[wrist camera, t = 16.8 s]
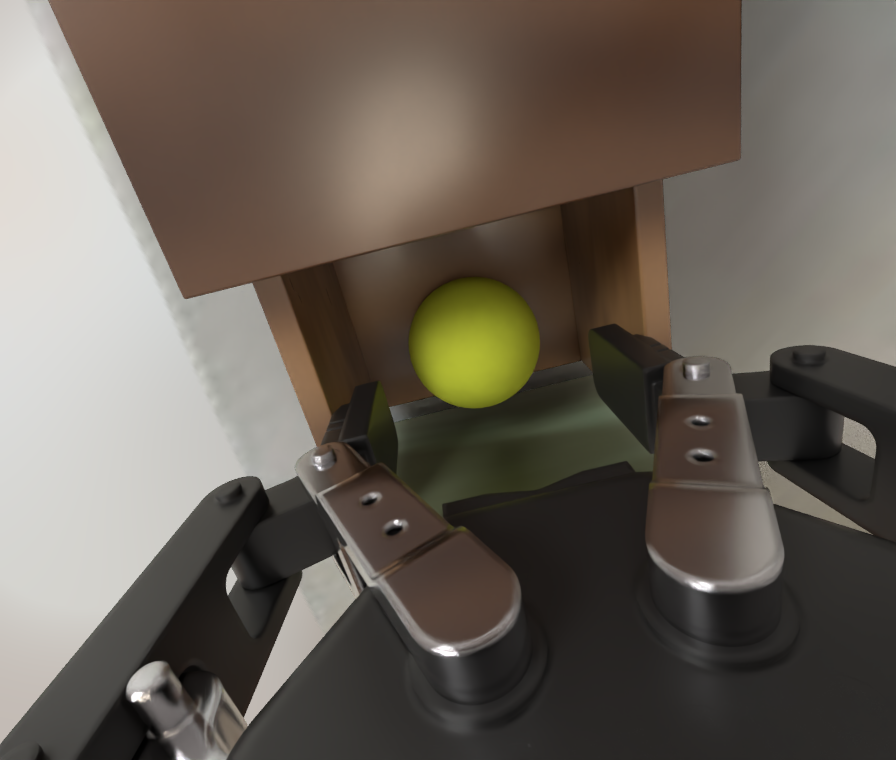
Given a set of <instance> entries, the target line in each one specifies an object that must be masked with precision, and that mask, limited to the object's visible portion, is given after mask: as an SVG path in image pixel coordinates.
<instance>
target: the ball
mask: <svg viewBox="0 0 896 760" xmlns="http://www.w3.org/2000/svg"><path fill="white" fill-rule="evenodd" d="M408 343H409V354H410V359H411V362H412V365H413V368H414V370H415V372H416V374H417V376H418V378H419V379H420V380H421V382H422V383H423V385H424V386H425V387H426V388H427V389H428V390H429V391H430V392H431V393H432V394H434V395H435V396H436V397H438V398H440V399H441V400H443V401H445V402H447V403H449V404H452V405H455V406H458V407H463V408H484V407H489V406H493V405H496V404H499V403H501V402H503V401H505V400H507V399H508V398H510V397H512V396H513V395H514V394H516V393H517V392H518V391H519V390H520V389H521V388H522V387H523V386H524V385H525V383H526V382H527V381H528V379H529V378H530V376H531V375H532V373H533V371H534V369H535V366H536V363H537V360H538V356H539V350H540V336H539V329H538V325H537V321H536V319H535V316H534V314H533V312H532V310H531V309H530V307H529V305H528V304H527V303H526V301H525V300H524V299H523V298H522V297H521V296H520V295H519V294H518V293H517V292H516V291H514V290H513V289H512V288H510V287H509V286H507V285H505V284H503V283H501V282H499V281H496V280H494V279H489V278H485V277H465V278H460V279H456V280H453V281H450V282H448V283H446V284H444V285H442V286H440V287H439V288H437V289H436V290H434V291H433V292H432V293H431V294H430V295H428V297H427V298H426V299H425V300H424V301H423V302H422V304H421V305H420V306H419V308H418V310H417V312H416V313H415V315H414V318H413V321H412V323H411V327H410V332H409V341H408Z"/></svg>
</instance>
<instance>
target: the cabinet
mask: <svg viewBox="0 0 896 760" xmlns="http://www.w3.org/2000/svg"><path fill="white" fill-rule="evenodd" d="M48 1H49V3H50V5H51V8H52V10H53V12H54V14H55V16H56V19H57V21H58V23H59V25H60V27H61V30H62V32H63V34H64V36H65V38H66V41H67V43H68V45H69V47H70V49H71V52H72V54H73V56H74V58H75V60H76V63H77V65H78V67H79V69H80V71H81V74H82V76H83V78H84V80H85V82H86V85H87V87H88V89H89V91H90V93H91V95H92V98H93V100H94V102H95V104H96V106H97V109H98V111H99V113H100V115H101V117H102V120H103V122H104V124H105V126H106V128H107V131H108V133H109V135H110V137H111V139H112V142H113V144H114V146H115V148H116V150H117V153H118V155H119V157H120V159H121V161H122V164H123V166H124V168H125V170H126V172H127V175H128V177H129V179H130V181H131V183H132V186H133V188H134V190H135V192H136V194H137V197H138V199H139V201H140V203H141V205H142V208H143V210H144V212H145V214H146V216H147V218H148V221H149V223H150V225H151V227H152V229H153V232H154V234H155V236H156V238H157V240H158V243H159V245H160V247H161V249H162V251H163V254H164V256H165V258H166V260H167V262H168V265H169V267H170V269H171V271H172V273H173V276H174V278H175V280H176V282H177V284H178V287H179V289H180V291H181V293H182V295H183V297H184V299H189V298H193V297H197V296H201V295H205V294H209V293H213V292H217V291H221V290H224V289H228V288H232V287H236V286H240V285H244V284H248V283H252V282H256V281H260V280H264V279H268V278H272V277H276V276H280V275H284V274H288V273H292V272H296V271H300V270H304V269H308V268H312V267H316V266H320V265H324V264H328V263H332V262H336V261H340V260H344V259H348V258H352V257H356V256H360V255H364V254H368V253H372V252H376V251H380V250H384V249H388V248H392V247H396V246H400V245H404V244H408V243H412V242H416V241H420V240H423V239H427V238H431V237H435V236H439V235H443V234H447V233H451V232H455V231H459V230H463V229H467V228H471V227H475V226H479V225H483V224H487V223H491V222H495V221H499V220H503V219H507V218H511V217H515V216H519V215H523V214H527V213H531V212H535V211H539V210H543V209H547V208H551V207H555V206H559V205H563V204H567V203H571V202H575V201H579V200H583V199H587V198H591V197H595V196H599V195H603V194H607V193H611V192H615V191H619V190H622V189H626V188H630V187H634V186H638V185H642V184H646V183H650V182H654V181H658V180H662V179H666V178H670V177H674V176H678V175H682V174H686V173H690V172H694V171H698V170H702V169H706V168H710V167H714V166H718V165H722V164H726V163H730V162H734V161H738V160H739V159H740V158H741V0H48Z"/></svg>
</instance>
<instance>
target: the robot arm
mask: <svg viewBox="0 0 896 760" xmlns="http://www.w3.org/2000/svg"><path fill="white" fill-rule="evenodd" d="M588 340H589V348H590V356H591V364H592V372H593V380H594V384H595V388H596V391H597V393H598V395H599V397H600V398H601V399H602V401H603V402H604V403H605V404H606V405H607V406H608V407H609V408H610V410H611V411H612V412H613V413H614V414H615V415H616V416H617V417H618V419H619V420H620V421H621V422H622V423H623V424H624V425H625V426H626V428H627V429H628V430H629V431H630V432H631V433H632V434H633V435H634V436H635V438H636V439H637V440H638V441H639V442H640V443H641V444H642V445H643V447H644V448H645V449H646V450H647V451H648V452H649V453H650V454H653V453H654V462H653V472H635V470H634V469H633V468H632V466H631V465H630V464H629V463H628V461H623V462H619V463H614V464H610V465H606V466H602V467H597V468H593V469H589V470H585V471H581V472H578V473H576V474H574V475H571V476H569V477H567V478H564V479H562V480H559V481H557V482H555V483H552V484H550V485H548V486H545V487H543V488H540V489H537V490H530V491H515V492H501V493H487V494H483V495H478V496H474V497H470V498H466V499H461V500H457V501H453V502H448V503H444V504H442V509H443V517H442V516H441V515H439V514H438V513H437V512H436V511H435V510H434V509H433V508H432V507H431V506H430V505H429V504H428V503H426V502H425V501H424V500H423V499H422V498H421V497H420V496H419V495H418V494H417V493H416V492H415V491H414V490H412V489H411V488H410V487H409V486H408V485H407V484H406V483H405V482H404V481H403V480H402V479H401V478H400V477H398V476H397V461H398V446H399V445H398V436H397V432H396V428H395V424H394V421H393V418H392V415H391V412H390V408H389V405H388V402H387V399H386V396H385V393H384V389H383V387H382V384H381V382H380V381H379V380H378V381H374V382H370V383H366V384H362V385H358V386H355V388H354V391H353V395H352V398H351V401H350V403H348V404H344V405H341V406H340V407H339V408H338V409H337V410H336V411H335V412H334V413H333V414H332V416H331V419H330V422H329V425H328V427H327V430H326V431H327V432H325V435H324V437H323V440H322V443H321V445H320V446H318V447H316V448H314V449H312V450H310V451H308V452H307V453H305V454H304V455H303V456H302V457H301V458H300V459H299V460H298V461H297V462H296V465H295V470H296V473H297V475H298V476H296V477H295V478H293V479H291V480H289V481H286V482H284V483H282V484H279V485H277V486H274V487H272V488H270V489H267V490H264V487H263V485H262V483H261V481H260V479H259V478H257V477H253V476H247V477H241V478H238V479H234V480H232V481H229V482H227V483H225V484H223V485H221V486H219V487H218V488H216V489H214V490H213V491H212V492H210V493H209V494H208V495H207V496H206V497H205V498H204V499H203V500H202V501H201V502H200V503H199V505H198V506H197V507H196V508H195V509H194V511H193V512H192V513H191V514H190V516H189V517H188V518H187V519H186V520H185V522H184V523H183V524H182V525H181V527H180V528H179V529H178V530H177V531H176V532H175V534H174V535H173V536H172V537H171V538H170V540H169V541H168V542H167V543H166V545H165V546H164V547H163V548H162V549H161V551H160V552H159V553H158V554H157V555H156V557H155V558H154V559H153V560H152V562H151V563H150V564H149V565H148V566H147V568H146V569H145V570H144V571H143V572H142V574H141V575H140V576H139V577H138V578H137V580H136V581H135V582H134V583H133V585H132V586H131V587H130V588H129V589H128V590H127V592H126V593H125V594H124V595H123V597H122V598H121V599H120V600H119V601H118V603H117V604H116V605H115V606H114V607H113V609H112V610H111V611H110V612H109V613H108V615H107V616H106V617H105V618H104V619H103V621H102V622H101V623H100V624H99V626H98V627H97V628H96V629H95V630H94V632H93V633H92V634H91V635H90V636H89V638H88V639H87V640H86V641H85V643H84V644H83V645H82V646H81V647H80V648H79V650H78V651H77V652H76V653H75V655H74V656H73V657H72V658H71V659H70V661H69V662H68V663H67V664H66V665H65V667H64V668H63V669H62V670H61V671H60V673H59V674H58V675H57V676H56V678H55V679H54V680H53V681H52V682H51V684H50V685H49V686H48V687H47V688H46V690H45V691H44V692H43V693H42V694H41V696H40V697H39V698H38V699H37V700H36V702H35V703H34V704H33V705H32V706H31V708H30V709H29V710H28V711H27V713H26V714H25V715H24V716H23V717H22V719H21V720H20V721H19V722H18V724H17V725H16V726H15V727H14V728H13V729H12V731H11V732H10V733H9V734H8V736H7V737H6V738H5V739H4V740H3V742H2V743H1V744H0V760H896V367H894V366H891V365H888V364H884V363H881V362H878V361H875V360H871V359H868V358H865V357H861V356H858V355H855V354H852V353H848V352H845V351H842V350H839V349H835V348H831V347H825V346H815V345H803V346H793V347H787V348H783V349H780V350H777V351H775V352H774V353H772V355H771V356H770V371H763V372H751V373H738V374H732V371H731V367H730V364H729V363H728V362H726V361H724V360H722V359H719V358H714V357H707V356H693V357H685V358H684V357H683V356H681V355H679V354H678V353H676V352H674V351H673V350H671V349H670V350H669V348H668V347H666V346H665V345H663V344H662V345H661V343H660V342H658V341H657V340H655V339H653V338H652V337H648V336H643V335H639V334H634V335H632V334H631V333H629V332H628V331H626V330H625V329H623V328H622V327H620V326H619V325H617V324H615V323H613V324H609V325H605V326H601V327H597V328H593V329H590V330H589V333H588ZM844 416H845V417H847V418H849V419H851V420H854V421H856V422H858V423H860V424H862V425H864V426H865V427H866V428H867V429H868V430H869V431H870V432H871V433H872V435H873V436H874V438H875V441H876V456H875V459H873V458H871V457H869V456H867V455H865V454H863V453H861V452H859V451H857V450H855V449H853V448H851V447H849V446H847V445H845V444H843V443H842V435H843V425H844ZM758 461H767V462H768V464H769V466H770V467H771V468H772V469H773V470H774V471H776V472H777V473H779V474H780V475H782V476H783V477H785V478H787V479H788V480H790V481H791V482H793V483H794V484H796V485H797V486H799V487H800V488H802V489H804V490H805V491H807V492H808V493H810V494H811V495H813V496H814V497H816V498H817V499H819V500H820V501H822V502H824V503H825V504H827V505H828V506H830V507H831V508H833V509H834V510H836V511H837V512H839V513H841V514H842V515H844V516H845V517H847V518H848V519H850V520H851V521H853V522H854V523H856V524H857V525H859V526H861V527H862V528H864V529H865V530H867V531H868V532H870V533H871V534H873V535H871V534H868V533H865V532H862V531H858V530H855V529H852V528H849V527H846V526H843V525H839V524H836V523H833V522H830V521H827V520H823V519H820V518H817V517H814V516H811V515H808V514H804V513H801V512H798V511H795V510H792V509H789V508H785V507H782V506H779V505H776V504H773V502H772V498H771V494H770V491H769V489H768V488H765V487H764V485H763V481H762V477H761V472H760V468H759V464H758ZM331 556H332V558H333V560H334V562H335V564H336V565H337V567H338V569H339V571H340V572H341V574H342V576H343V578H344V579H345V581H346V583H347V585H348V586H349V588H350V590H351V592H352V593H353V595H354V597H355V600H354V602H353V603H352V604H351V605H350V606H349V608H348V609H347V610H346V611H345V612H344V613H343V615H342V616H341V617H340V618H339V619H338V620H337V622H336V623H335V624H334V625H333V626H332V628H331V629H330V630H329V631H328V632H327V633H326V635H325V636H324V637H323V638H322V639H321V641H320V642H319V643H318V644H317V645H316V646H315V648H314V649H313V650H312V651H311V652H310V653H309V655H308V656H307V657H306V658H305V659H304V660H303V662H302V663H301V664H300V665H299V667H298V668H297V669H296V670H295V671H294V672H293V673H292V675H291V676H290V677H289V678H288V679H287V681H286V682H285V683H284V684H283V685H282V686H281V688H280V689H279V690H278V691H277V692H276V694H275V695H274V696H273V697H272V698H271V699H270V701H269V702H268V703H267V704H266V705H265V706H264V708H263V709H262V710H261V711H260V712H259V714H258V715H257V716H256V717H255V718H254V719H253V721H252V722H251V723H250V724H249V726H248V727H247V723H246V721H245V720H244V716H245V713H246V711H247V708H248V706H249V704H250V701H251V699H252V696H253V694H254V692H255V689H256V687H257V684H258V682H259V679H260V677H261V675H262V672H263V670H264V667H265V665H266V663H267V660H268V658H269V656H270V653H271V651H272V648H273V646H274V644H275V641H276V639H277V636H278V634H279V632H280V629H281V627H282V624H283V622H284V620H285V617H286V615H287V612H288V610H289V608H290V605H291V603H292V600H293V598H294V596H295V593H296V591H297V588H298V586H299V584H300V581H301V578H302V570H303V569H305V568H307V567H310V566H312V565H314V564H316V563H318V562H320V561H322V560H324V559H326V558H329V557H331ZM231 567H232V569H233V571H234V573H235V575H236V576H237V581H236V583H235V585H234V586H233V588H232V590H231V592H230V593H229V595H227V592H226V577H227V574H228V571H229V569H230V568H231Z"/></svg>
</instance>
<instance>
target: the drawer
mask: <svg viewBox="0 0 896 760" xmlns="http://www.w3.org/2000/svg"><path fill="white" fill-rule="evenodd" d="M465 277H485V278H489V279H494V280H496V281H499V282H501V283H503V284H505V285H507V286H509V287H510V288H512V289H513V290H514V291H516V292H517V293H518V294H519V295H520V296H521V297H522V298H523V299H524V300H525V301H526V303H527V304H528V305H529V307H530V309H531V310H532V312H533V314H534V316H535V319H536V321H537V325H538V329H539V336H540V350H539V356H538V360H537V363H536V366H535V369H534V371H533V372H536V371H540V370H544V369H549V368H553V367H557V366H561V365H565V364H569V363H573V362H577V361H582V362H583V363H584V364H585V365H586V366H587V367H588V368H589V369H590V370H591V371H592V364H591V356H590V348H589V340H588V333H589V330H590V329H593V328H597V327H601V326H605V325H609V324H613V323H615V324H617V325H619V326H620V327H622V328H623V329H625V330H626V331H628V332H629V333H631V334H632V335H634V334H639V335H643V336H648V337H652V338H653V339H655V340H657V341H658V342H660V343H661V345H662V344H663V345H665V346H666V347H668V348H669V350H670V349H671V350H672V343H671V325H670V307H669V288H668V270H667V252H666V233H665V215H664V197H663V179H662V180H658V181H654V182H650V183H646V184H642V185H638V186H634V187H630V188H626V189H622V190H619V191H615V192H611V193H607V194H603V195H599V196H595V197H591V198H587V199H583V200H579V201H575V202H571V203H567V204H563V205H559V206H555V207H551V208H547V209H543V210H539V211H535V212H531V213H527V214H523V215H519V216H515V217H511V218H507V219H503V220H499V221H495V222H491V223H487V224H483V225H479V226H475V227H471V228H467V229H463V230H459V231H455V232H451V233H447V234H443V235H439V236H435V237H431V238H427V239H423V240H420V241H416V242H412V243H408V244H404V245H400V246H396V247H392V248H388V249H384V250H380V251H376V252H372V253H368V254H364V255H360V256H356V257H352V258H348V259H344V260H340V261H336V262H332V263H328V264H324V265H320V266H316V267H312V268H308V269H304V270H300V271H296V272H292V273H288V274H284V275H280V276H276V277H272V278H268V279H264V280H260V281H256V282H252V283H253V285H254V288H255V291H256V293H257V296H258V298H259V301H260V303H261V306H262V308H263V311H264V313H265V316H266V319H267V321H268V324H269V326H270V329H271V331H272V334H273V336H274V339H275V341H276V344H277V346H278V349H279V352H280V354H281V357H282V359H283V362H284V364H285V367H286V369H287V372H288V374H289V377H290V379H291V382H292V385H293V387H294V390H295V392H296V395H297V397H298V400H299V402H300V405H301V407H302V410H303V413H304V415H305V418H306V420H307V423H308V425H309V428H310V430H311V433H312V435H313V438H314V440H315V443H316V446H317V447H318V446H320V445H321V443H322V440H323V437H324V435H325V432H327V431H326V430H327V427H328V425H329V422H330V419H331V416H332V414H333V413H334V412H335V411H336V410H337V409H338V408H339V407H340V406H341V405H344V404H348V403H350V401H351V398H352V395H353V391H354V388H355V386H358V385H362V384H366V383H370V382H374V381H378V380H379V381H380V382H381V384H382V387H383V389H384V393H385V396H386V399H387V402H388V405H389V407H391V406H395V405H399V404H404V403H408V402H412V401H416V400H420V399H424V398H428V397H433V396H435V395H434V394H432V393H431V392H430V391H429V390H428V389H427V388H426V387H425V386H424V385H423V383H422V382H421V380H420V379H419V378H418V376H417V374H416V372H415V370H414V368H413V365H412V362H411V359H410V354H409V343H408V341H409V332H410V327H411V323H412V321H413V318H414V315H415V313H416V312H417V310H418V308H419V306H420V305H421V304H422V302H423V301H424V300H425V299H426V298H427V297H428V295H430V294H431V293H432V292H433V291H434V290H436V289H437V288H439V287H440V286H442V285H444V284H446V283H448V282H450V281H453V280H456V279H460V278H465ZM394 424H395V428H396V432H397V436H398V445H399V446H398V461H397V476H398V477H400V478H401V479H402V480H403V481H404V482H405V483H406V484H407V485H408V486H409V487H410V488H411V489H412V490H414V491H415V492H416V493H417V494H418V495H419V496H420V497H421V498H422V499H423V500H424V501H425V502H426V503H428V504H429V505H430V506H431V507H432V508H433V509H434V510H435V511H436V512H437V513H438V514H439V515H441V516H442V517H443V509H442V504H444V503H448V502H453V501H457V500H461V499H466V498H470V497H474V496H478V495H483V494H487V493H501V492H515V491H530V490H537V489H540V488H543V487H545V486H548V485H550V484H552V483H555V482H557V481H559V480H562V479H564V478H567V477H569V476H571V475H574V474H576V473H578V472H581V471H585V470H589V469H593V468H597V467H602V466H606V465H610V464H614V463H619V462H623V461H628V463H629V464H630V465H631V466H632V468H633V469H634V470H635V472H653V462H654V453H653V454H650V453H649V452H648V451H647V450H646V449H645V448H644V447H643V445H642V444H641V443H640V442H639V441H638V440H637V439H636V438H635V436H634V435H633V434H632V433H631V432H630V431H629V430H628V429H627V428H626V426H625V425H624V424H623V423H622V422H621V421H620V420H619V419H618V417H617V416H616V415H615V414H614V413H613V412H612V411H611V410H610V408H609V407H608V406H607V405H606V404H605V403H604V402H603V401H602V399H601V398H600V397H599V395H598V393H597V391H596V388H595V384H594V380H593V375H589V376H585V377H581V378H577V379H573V380H569V381H564V382H560V383H556V384H552V385H548V386H544V387H539V388H535V389H531V390H527V391H523V392H519V393H516V394H514V395H513V396H512V397H510V398H508V399H507V400H505V401H503V402H501V403H499V404H496V405H493V406H489V407H484V408H463V407H456V408H452V409H448V410H444V411H440V412H436V413H431V414H427V415H423V416H419V417H415V418H411V419H406V420H402V421H398V422H394Z"/></svg>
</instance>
